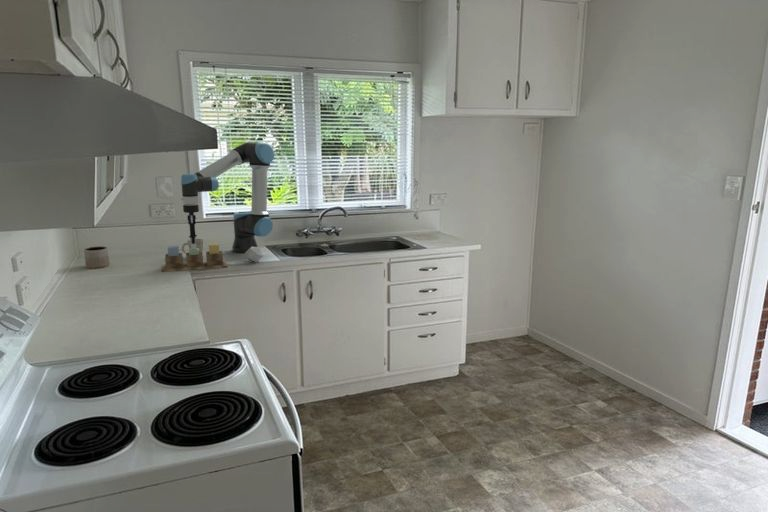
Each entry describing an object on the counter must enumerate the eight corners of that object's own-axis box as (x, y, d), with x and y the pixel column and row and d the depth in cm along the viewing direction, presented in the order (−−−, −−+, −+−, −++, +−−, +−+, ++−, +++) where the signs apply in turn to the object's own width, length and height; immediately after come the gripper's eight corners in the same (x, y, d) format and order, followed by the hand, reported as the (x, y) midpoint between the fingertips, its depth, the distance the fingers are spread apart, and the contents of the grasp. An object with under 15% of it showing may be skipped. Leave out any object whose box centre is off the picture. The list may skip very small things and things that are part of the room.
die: (266, 261, 285) (261, 246, 288) (261, 257, 276) (256, 241, 279) (252, 267, 285) (247, 251, 288) (246, 263, 276) (241, 246, 279)
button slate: (179, 258, 268) (178, 245, 267) (179, 260, 264) (178, 247, 262) (169, 258, 267) (168, 245, 265) (168, 261, 262) (167, 247, 260)
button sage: (199, 261, 272) (198, 248, 271) (200, 263, 268) (199, 250, 266) (189, 261, 270) (188, 248, 269) (189, 263, 266) (188, 250, 264)
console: (225, 261, 281) (225, 249, 279) (227, 267, 269) (226, 254, 268) (163, 265, 270) (161, 253, 268) (161, 271, 258) (160, 258, 257)
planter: (81, 267, 266) (79, 249, 263) (101, 262, 275) (99, 245, 273) (94, 269, 261) (92, 251, 258) (114, 265, 270) (112, 247, 268)
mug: (201, 259, 286) (200, 241, 284) (179, 258, 286) (177, 241, 284) (206, 256, 294) (205, 239, 292) (184, 255, 294) (183, 238, 292)
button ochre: (219, 255, 275) (218, 243, 274) (219, 257, 271) (218, 244, 269) (209, 256, 273) (208, 243, 272) (209, 258, 269) (208, 245, 267)
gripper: (183, 203, 267) (186, 247, 272) (182, 206, 255) (186, 252, 260) (198, 202, 269) (201, 246, 275) (198, 205, 258) (201, 251, 263)
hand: (193, 249), depth 267 cm, fingers closed
